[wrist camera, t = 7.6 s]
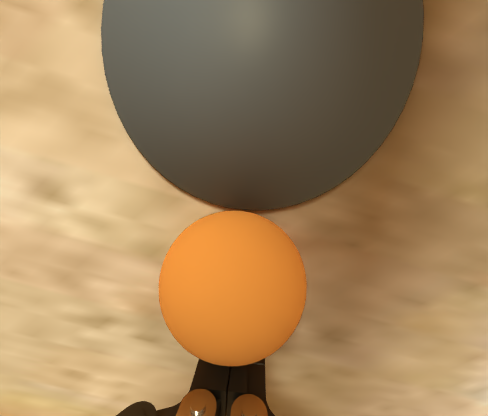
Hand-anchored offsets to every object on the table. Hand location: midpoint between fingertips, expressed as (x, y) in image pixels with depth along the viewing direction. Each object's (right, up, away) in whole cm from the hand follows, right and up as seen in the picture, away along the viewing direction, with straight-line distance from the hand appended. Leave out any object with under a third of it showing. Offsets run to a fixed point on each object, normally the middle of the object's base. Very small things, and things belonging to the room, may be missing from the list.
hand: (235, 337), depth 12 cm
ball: (0, +4, -2) cm, 4 cm away
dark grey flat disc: (+1, +14, -2) cm, 14 cm away
